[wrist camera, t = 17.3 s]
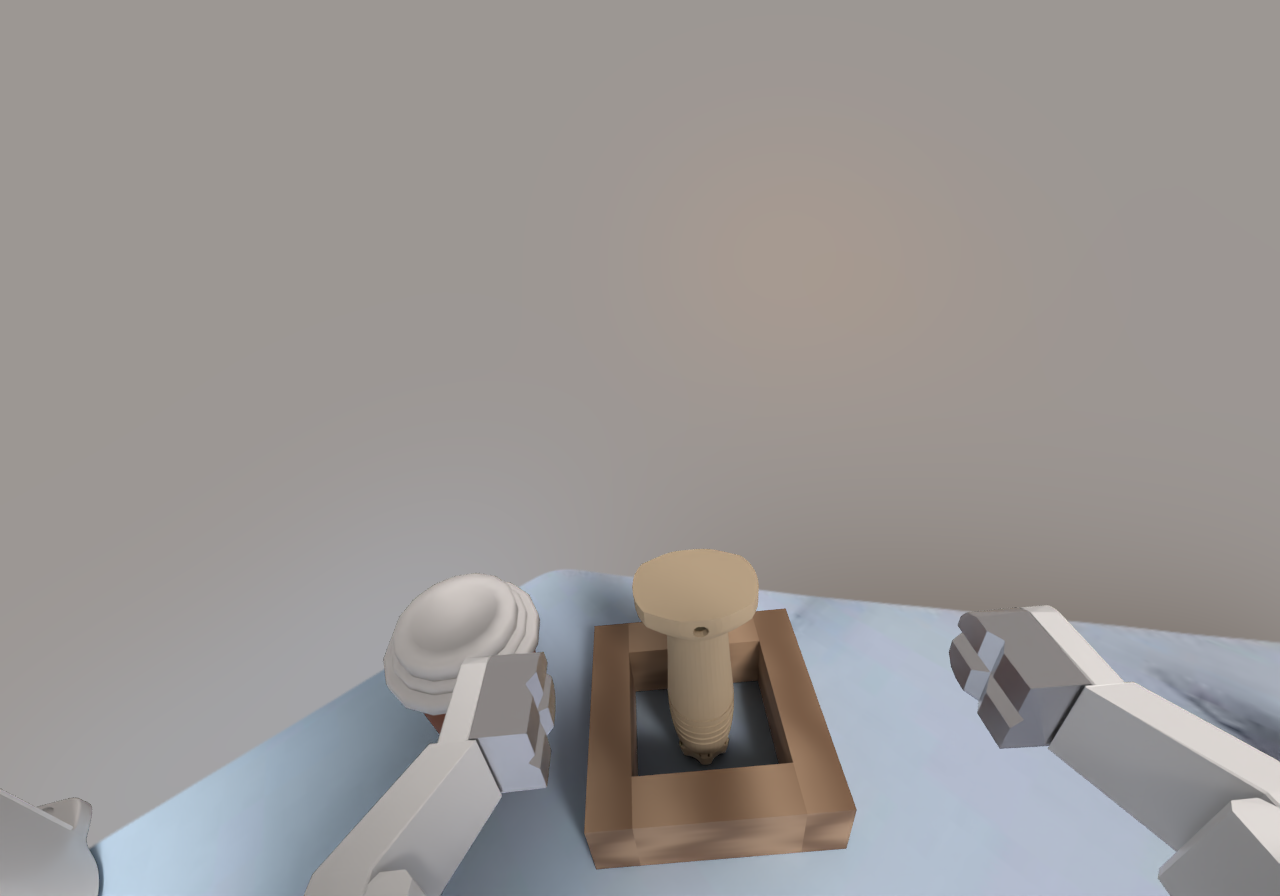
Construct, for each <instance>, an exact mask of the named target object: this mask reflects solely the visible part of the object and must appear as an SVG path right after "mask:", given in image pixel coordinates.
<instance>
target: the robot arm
mask: <svg viewBox="0 0 1280 896" xmlns="http://www.w3.org/2000/svg"><path fill="white" fill-rule="evenodd" d="M958 627H959V628H960V630H961V631H962V633H961V634H960V635H958V636H957V637H956V638H955V639H953V640H952V643H951V646H950V650H949V656H950V663H951V668H952V670H953V673H954V675H955V678H956V679H957V681H958V683H959V684H960V686H961V688H962V689H963V691H965V692H966V693H968V694H969V695H971V696H972V697H973V698H975V699H976V700H978V711H977V713H978V715H979V717H980V718H981V720H982V721H983V723H984V724H985V726H986V728H987V729H988V731H989V732H990V734H991V736H992V737H993V739H994V740H995V742H996V744H997V745H998V747H999V748H1000V749H1003V748H1021V747H1038V746H1049V747H1048V749H1049V750H1050V751H1051V752H1053V753H1054V754H1055V755H1056V756H1058V757H1059V758H1060V759H1061V760H1063V761H1064V762H1065V763H1066V764H1068V765H1069V766H1070V767H1071V768H1073V769H1074V770H1075V771H1076V772H1078V773H1079V774H1080V775H1081V776H1083V777H1084V778H1085V779H1086V780H1088V781H1089V782H1090V783H1091V784H1093V785H1094V786H1095V787H1096V788H1098V789H1099V790H1100V791H1101V792H1103V793H1104V794H1105V795H1106V796H1108V797H1109V798H1110V799H1111V800H1113V801H1114V802H1115V803H1116V804H1118V805H1119V806H1120V807H1121V808H1123V809H1124V810H1125V811H1126V812H1128V813H1129V814H1130V815H1131V816H1133V817H1134V818H1135V819H1136V820H1138V821H1139V822H1140V823H1141V824H1143V825H1144V826H1145V827H1146V828H1148V829H1149V830H1150V831H1151V832H1153V833H1154V834H1155V835H1156V836H1158V837H1159V838H1160V839H1161V840H1163V841H1164V842H1165V843H1166V844H1168V845H1169V846H1170V847H1171V848H1173V849H1174V850H1175V851H1176V853H1175V854H1174V855H1173V856H1172V857H1171V858H1170V859H1169V860H1168V861H1166V862H1165V863H1164V864H1163V865H1162V866H1161V867H1160V868H1159V873H1158V879H1159V880H1160V882H1161V883H1162V885H1163V886H1164V887H1165V889H1166V890H1167V892H1168V893H1169V894H1170V896H1280V761H1278V760H1276V759H1274V758H1272V757H1270V756H1269V755H1267V754H1265V753H1263V752H1261V751H1259V750H1258V749H1256V748H1254V747H1252V746H1250V745H1248V744H1247V743H1245V742H1243V741H1241V740H1239V739H1237V738H1236V737H1234V736H1232V735H1230V734H1228V733H1226V732H1225V731H1223V730H1221V729H1219V728H1217V727H1215V726H1214V725H1212V724H1210V723H1208V722H1206V721H1204V720H1203V719H1201V718H1199V717H1197V716H1195V715H1193V714H1192V713H1190V712H1188V711H1186V710H1184V709H1182V708H1181V707H1179V706H1177V705H1175V704H1173V703H1171V702H1170V701H1168V700H1166V699H1164V698H1162V697H1160V696H1159V695H1157V694H1155V693H1153V692H1151V691H1149V690H1148V689H1146V688H1144V687H1142V686H1140V685H1138V684H1137V683H1135V682H1124V681H1123V680H1122V679H1121V678H1120V677H1119V676H1118V675H1117V674H1116V672H1115V671H1114V670H1113V669H1112V668H1111V667H1110V666H1109V665H1108V664H1107V663H1106V662H1105V661H1104V660H1103V659H1102V657H1101V656H1100V655H1099V654H1098V653H1097V652H1096V651H1095V650H1094V649H1093V648H1092V647H1091V646H1090V645H1089V644H1088V643H1087V641H1086V640H1085V639H1084V638H1083V637H1082V636H1081V635H1080V634H1079V633H1078V632H1077V631H1076V630H1075V629H1074V628H1073V626H1072V625H1071V624H1070V623H1069V622H1068V621H1067V620H1066V619H1065V618H1064V617H1063V616H1062V615H1061V614H1060V613H1059V612H1058V611H1057V610H1056V609H1054V608H1053V607H1051V606H1049V605H1039V606H1030V607H1022V608H1017V607H1014V608H1013V607H1012V608H1003V609H994V610H984V611H975V612H967V613H965V614H964V615H962V616H961V617H960V620H959V623H958ZM546 670H547V660H546V657H545V654H544V652H537V653H522V654H508V655H493V656H492V655H491V656H480V657H468V658H465V660H464V661H463V663H462V665H461V666H460V669H459V672H458V675H457V679H456V682H455V685H454V689H453V692H452V695H451V699H450V702H449V705H448V709H447V712H446V715H445V719H444V722H443V725H442V729H441V732H440V735H439V739H438V742H437V743H433V744H429V745H428V746H427V747H426V748H425V749H424V750H423V751H422V753H421V754H420V755H419V756H418V757H417V758H416V759H415V760H414V762H413V763H412V764H411V765H410V766H409V767H408V768H407V769H406V770H405V772H404V773H403V774H402V775H401V776H400V777H399V778H398V779H397V781H396V782H395V783H394V784H393V785H392V786H391V787H390V788H389V789H388V791H387V792H386V793H385V794H384V795H383V796H382V797H381V798H380V799H379V801H378V802H377V803H376V804H375V805H374V806H373V807H372V808H371V810H370V811H369V812H368V813H367V814H366V815H365V816H364V817H363V818H362V820H361V821H360V822H359V823H358V824H357V825H356V826H355V827H354V829H353V830H352V831H351V832H350V833H349V834H348V835H347V836H346V837H345V839H344V840H343V841H342V842H341V843H340V844H339V845H338V846H337V847H336V849H335V850H334V851H333V852H332V853H331V854H330V855H329V856H328V858H327V859H326V860H325V861H324V862H323V863H322V864H321V865H320V866H319V868H318V869H317V870H316V871H315V872H314V873H313V874H312V877H311V879H310V882H309V884H308V886H307V889H306V891H305V894H304V896H440V895H441V893H442V892H443V890H444V889H445V887H446V885H447V884H448V882H449V881H450V879H451V877H452V876H453V874H454V873H455V871H456V869H457V868H458V866H459V865H460V863H461V861H462V860H463V858H464V857H465V855H466V853H467V852H468V850H469V849H470V847H471V845H472V844H473V842H474V841H475V839H476V837H477V836H478V834H479V833H480V831H481V829H482V828H483V826H484V825H485V823H486V821H487V820H488V818H489V817H490V815H491V813H492V812H493V810H494V809H495V807H496V805H497V804H498V802H499V801H500V799H501V797H502V794H501V793H507V792H516V791H524V790H533V789H542V788H547V784H548V776H549V767H550V758H551V748H550V745H549V742H548V739H547V735H548V734H549V733H550V731H551V730H552V729H553V727H554V721H555V689H554V683H553V680H552V677H551V676H550V675H548V674H547V673H546ZM91 816H92V806H91V804H89V803H87V802H86V801H83V800H81V799H79V798H68V799H65V800H61V801H57V802H53V803H50V804H46V805H42V806H39V807H35V806H33V805H31V804H29V803H27V802H25V801H23V800H22V799H20V798H18V797H16V796H13V795H12V794H10V793H8V792H6V791H4V790H2V789H0V896H98V890H99V872H98V867H97V864H96V861H95V859H94V857H93V856H92V854H91V852H90V850H89V848H88V845H87V841H86V838H87V834H88V830H89V825H90V821H91Z"/></svg>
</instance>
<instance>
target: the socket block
mask: <svg viewBox="0 0 1280 896" xmlns="http://www.w3.org/2000/svg"><path fill="white" fill-rule="evenodd" d="M728 637H729V650H730V661H731V670H732V679H733V683H737V682H748V681H758V684H759V688H760V692H761V696H762V700H763V704H764V708H765V712H766V716H767V719H768V723H769V727H770V731H771V735H772V739H773V743H774V747H775V751H776V755H777V759H778V763H779V764H773V765H761V766H750V767H738V768H727V769H715V770H704V771H692V772H681V773H669V774H658V775H646V776H638V758H637V723H636V692H637V691H648V690H659V689H668V651H667V635H665V634H662V633H660V632H657V631H654V630H652V629H650V628H647V627H646V626H645V625H644V624H643V623H642V622H636V623H625V624H614V625H604V626H595V629H594V649H593V669H592V689H591V708H590V728H589V748H588V768H587V788H586V807H585V827H584V834H585V837H586V840H587V843H588V846H589V849H590V852H591V855H592V858H593V861H594V864H595V867H596V869H605V868H617V867H629V866H641V865H653V864H665V863H677V862H689V861H701V860H714V859H726V858H738V857H750V856H762V855H774V854H786V853H798V852H810V851H822V850H834V849H846V848H847V844H848V840H849V836H850V833H851V829H852V825H853V821H854V818H855V814H856V807H855V804H854V801H853V798H852V796H851V793H850V790H849V787H848V784H847V781H846V779H845V776H844V773H843V770H842V767H841V764H840V762H839V759H838V756H837V753H836V750H835V747H834V745H833V742H832V739H831V736H830V733H829V730H828V728H827V725H826V722H825V719H824V716H823V713H822V711H821V708H820V705H819V702H818V699H817V696H816V694H815V691H814V688H813V685H812V682H811V679H810V677H809V674H808V671H807V668H806V665H805V662H804V660H803V657H802V654H801V651H800V648H799V645H798V643H797V640H796V637H795V634H794V631H793V628H792V626H791V623H790V620H789V617H788V614H787V611H786V609H776V610H765V611H756V612H755V614H754V616H753V618H752V619H751V620H749V621H748V622H746V623H745V624H743V625H741V626H740V627H738V628H736V629H734V630H732V631H730V632H728Z"/></svg>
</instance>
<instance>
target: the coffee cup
mask: <svg viewBox="0 0 1280 896" xmlns="http://www.w3.org/2000/svg"><path fill="white" fill-rule="evenodd" d="M539 626H540V618H539V615H538V612H537V610H536V608H535V606H534V604H533V602H532V600H531V598H530V595H529V594H527V593H526V592H524V591H523V590H521V589H520V588H518V587H517V586H515V585H514V584H512V583H510V582H505V581H502V580H501V579H499V578H498V577H496V576H492V575H485V574H479V573H473V574H466V575H459V576H454V577H452V578H449V579H447V580H444V581H442V582H439V583H437V584H434V585H433V586H431V587H430V588H429V589H427V590H426V591H424V592H423V593H421V594H420V595H419V596H417V597H416V598H415V599H414V600H413V601H412V602H411V603H410V605H409V606H408V607H407V608H406V609H405V610H404V612H403V613H402V614H401V615H400V617H399V619H398V621H397V624H396V627H395V629H394V632H393V635H392V638H391V640H390V643H389V645H388V648H387V651H386V653H385V656H384V659H383V661H384V670H385V678H386V684H387V686H388V688H389V690H390V691H391V692H392V693H393V694H394V695H395V696H396V698H397V699H398V700H399V701H400V702H401V703H402V704H403V705H404V706H405V708H408V709H411V710H415V711H419V712H423V713H424V714H425V716H426V717H427V718H428V720H429V721H430V722H431V724H432V725H433V726H434V728H435V729H436V730H437V732H438V733H439V734H440V732H441V729H442V725H443V722H444V719H445V715H446V712H447V709H448V705H449V702H450V699H451V695H452V692H453V689H454V685H455V682H456V679H457V675H458V672H459V669H460V666H461V665H462V663H463V661H464V660H465V658H468V657H480V656H491V655H492V656H493V655H508V654H522V653H536V652H535V649H536V647H537V645H538V639H539Z"/></svg>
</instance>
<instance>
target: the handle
mask: <svg viewBox="0 0 1280 896" xmlns="http://www.w3.org/2000/svg"><path fill="white" fill-rule="evenodd" d="M632 588H633V597H634V603H635V608H636V611H637V614H638V617H639V618H640V620H641V621H642V623H643V624H644V625H645V626H646V627H647V628H650V629H652V630H654V631H657V632H660V633H662V634H665V635H667V651H668V698H669V706H670V712H671V716H672V720H673V724H674V727H675V730H676V732H677V735H678V737H679V739H680V741H679V745H680V748H681V750H682V752H683V753H684V755H686V756H692V757H694V758H696V759H697V760H698V761H700V763H701V764H702V765H709V764H711V763H712V760H713V759H714V758H715V757H716V756H717V755H719V754H721V753H725V752H726V749H727V747H728V743H729V738H728V735H729V732H730V728H731V724H732V718H733V708H734V688H733V679H732V670H731V661H730V650H729V637H728V632H730V631H732V630H734V629H736V628H738V627H740V626H741V625H743V624H745V623H746V622H748V621H749V620H751V619H752V618H753V616H754V614H755V612H756V609H757V605H758V588H759V584H758V579H757V575H756V573H755V571H754V569H753V568H752V566H751V564H750V563H749V562H748V561H747V560H746V559H744V558H743V557H741V556H739V555H735V554H731V553H727V552H722V551H718V550H711V549H694V550H683V551H675V552H671V553H668V554H664V555H662V556H659V557H657V558H655V559H652V560H650V561H648V562H646V563H643V564H642V565H641V566H640V567H639V568H638V570H637V572H636V573H635V576H634V579H633V587H632Z"/></svg>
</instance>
